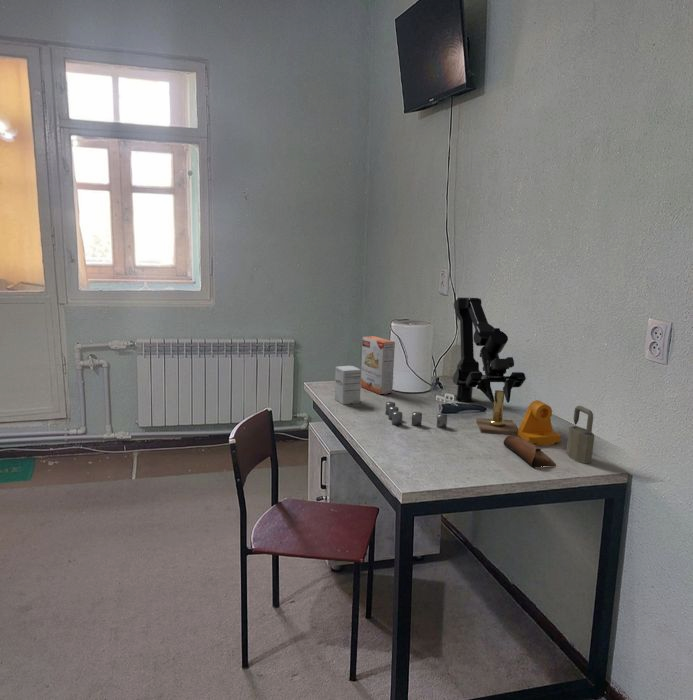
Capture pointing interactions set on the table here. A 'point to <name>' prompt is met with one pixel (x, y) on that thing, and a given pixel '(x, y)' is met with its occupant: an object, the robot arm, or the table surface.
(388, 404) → the dark grey domed cylinder
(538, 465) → the sunglasses case
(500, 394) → the brass pin
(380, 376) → the cracker box
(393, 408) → the dark grey domed cylinder
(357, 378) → the supplement box
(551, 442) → the bracket
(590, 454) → the padlock
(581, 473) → the table surface
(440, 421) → the cylinder
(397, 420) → the cylinder
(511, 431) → the board
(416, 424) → the dark gray domed cylinder
